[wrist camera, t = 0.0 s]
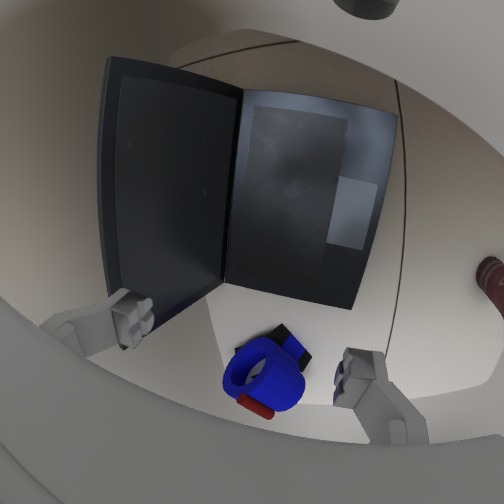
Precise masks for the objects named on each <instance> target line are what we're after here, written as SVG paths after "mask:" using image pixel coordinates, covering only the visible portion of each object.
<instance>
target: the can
mask: <svg viewBox="0 0 504 504" xmlns="http://www.w3.org/2000/svg"><path fill="white" fill-rule="evenodd" d="M477 283H478V285H479V287H480V288H481V289H482V290H483V291H484V293H485V294H486V295H487V296H488V298H489V299H490V300H491V301H492V303H493V304H494V305H495V306H496V308H497V309H498V310H499V312H500V313H501V315H502V317H503V319H504V264H503V263H502V262H501V261H500V260H499V259H497V258H496V257H490V258H487V259H485V260H484V261H483V262H482V263H481V265H480V266H479V268H478V271H477Z"/></svg>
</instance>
